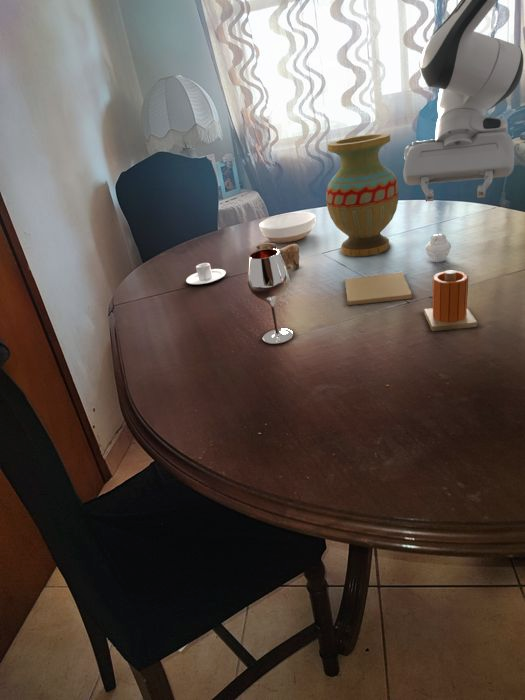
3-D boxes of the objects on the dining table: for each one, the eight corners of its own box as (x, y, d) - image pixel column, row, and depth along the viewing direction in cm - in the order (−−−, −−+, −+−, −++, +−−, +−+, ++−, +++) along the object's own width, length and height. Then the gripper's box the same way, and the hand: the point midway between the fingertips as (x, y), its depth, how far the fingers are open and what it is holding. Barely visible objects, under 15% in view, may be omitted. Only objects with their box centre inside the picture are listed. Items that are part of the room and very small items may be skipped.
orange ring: (461, 307, 92) (463, 269, 88) (470, 320, 87) (472, 280, 83) (430, 310, 93) (430, 273, 89) (436, 323, 88) (437, 284, 84)
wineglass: (269, 326, 101) (254, 247, 93) (303, 328, 98) (291, 246, 89) (252, 344, 95) (235, 261, 87) (288, 347, 92) (274, 261, 83)
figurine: (254, 282, 128) (248, 246, 123) (290, 262, 138) (285, 228, 133) (273, 284, 123) (267, 248, 119) (308, 263, 133) (304, 229, 128)
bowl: (319, 226, 167) (317, 209, 164) (315, 242, 150) (313, 224, 147) (266, 233, 171) (264, 216, 168) (257, 249, 155) (254, 231, 152)
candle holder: (224, 268, 143) (221, 255, 141) (228, 280, 132) (225, 266, 130) (186, 276, 142) (182, 263, 140) (187, 289, 131) (183, 275, 129)
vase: (356, 265, 125) (347, 147, 111) (319, 251, 142) (307, 146, 128) (415, 246, 131) (413, 131, 117) (372, 234, 148) (367, 132, 134)
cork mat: (402, 275, 114) (402, 272, 113) (412, 298, 102) (412, 294, 101) (345, 282, 116) (344, 278, 116) (348, 305, 104) (347, 301, 104)
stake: (465, 309, 93) (467, 261, 88) (476, 327, 86) (479, 276, 82) (424, 313, 95) (424, 267, 90) (432, 331, 88) (432, 282, 83)
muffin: (452, 263, 116) (453, 235, 112) (426, 265, 117) (426, 238, 114) (448, 254, 121) (449, 228, 117) (424, 257, 122) (424, 231, 119)
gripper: (403, 133, 95) (398, 193, 92) (516, 118, 87) (514, 183, 84) (406, 152, 100) (401, 210, 97) (512, 140, 92) (511, 202, 89)
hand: (454, 197), depth 90 cm, fingers open, 8 cm apart
